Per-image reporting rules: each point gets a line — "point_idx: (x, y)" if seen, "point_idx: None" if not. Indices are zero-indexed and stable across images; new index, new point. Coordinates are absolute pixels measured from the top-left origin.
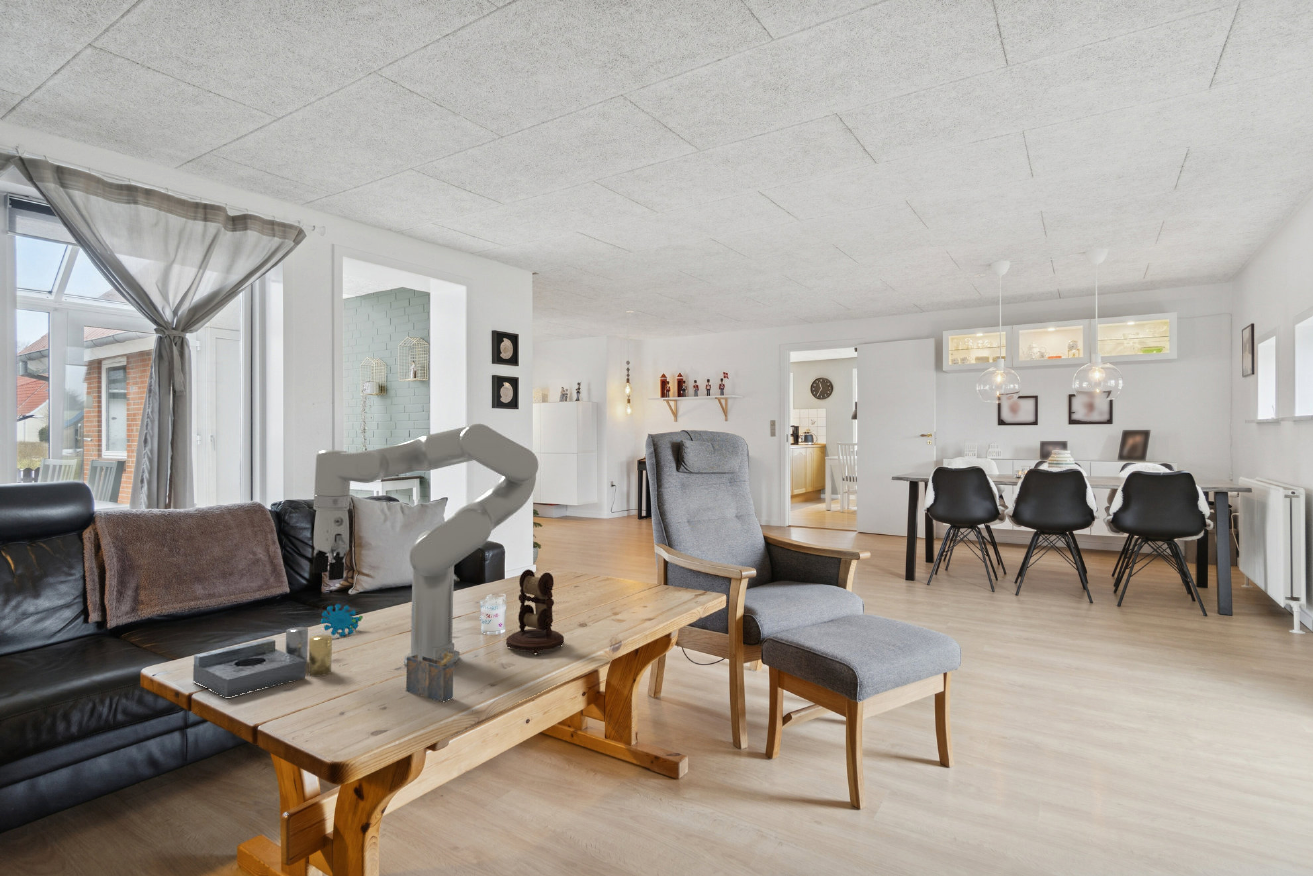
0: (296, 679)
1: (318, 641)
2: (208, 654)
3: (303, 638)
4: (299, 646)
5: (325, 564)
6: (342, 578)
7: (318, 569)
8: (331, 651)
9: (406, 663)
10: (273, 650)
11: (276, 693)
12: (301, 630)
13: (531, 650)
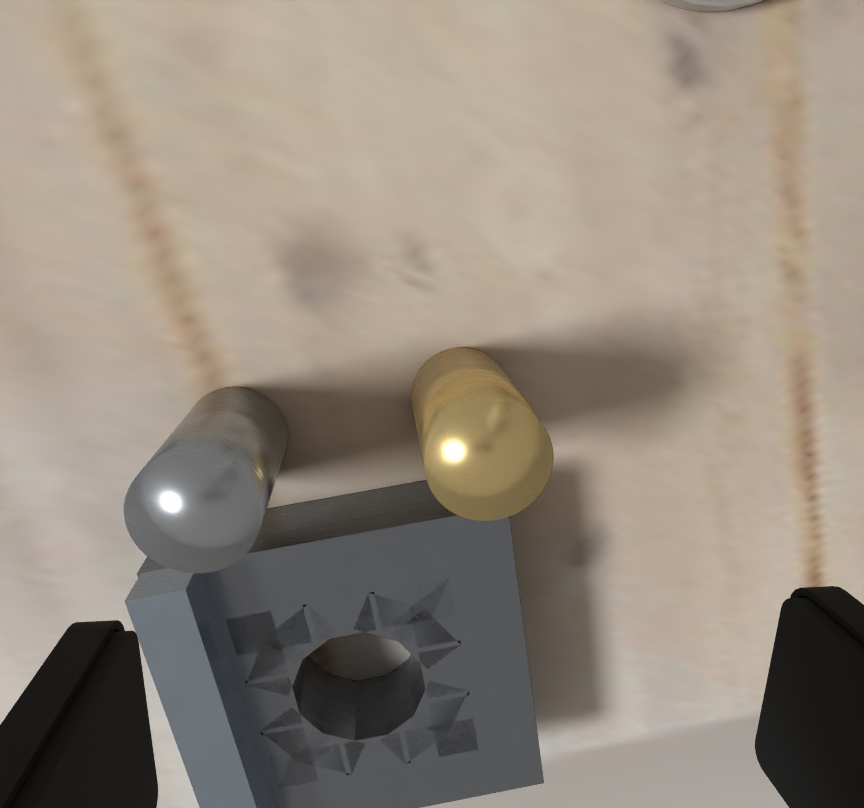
0: None
1: (539, 488)
2: None
3: (263, 473)
4: (274, 476)
5: (85, 775)
6: (827, 593)
7: (135, 803)
8: (505, 381)
9: (710, 8)
10: (223, 576)
11: (589, 594)
12: (233, 501)
13: None
